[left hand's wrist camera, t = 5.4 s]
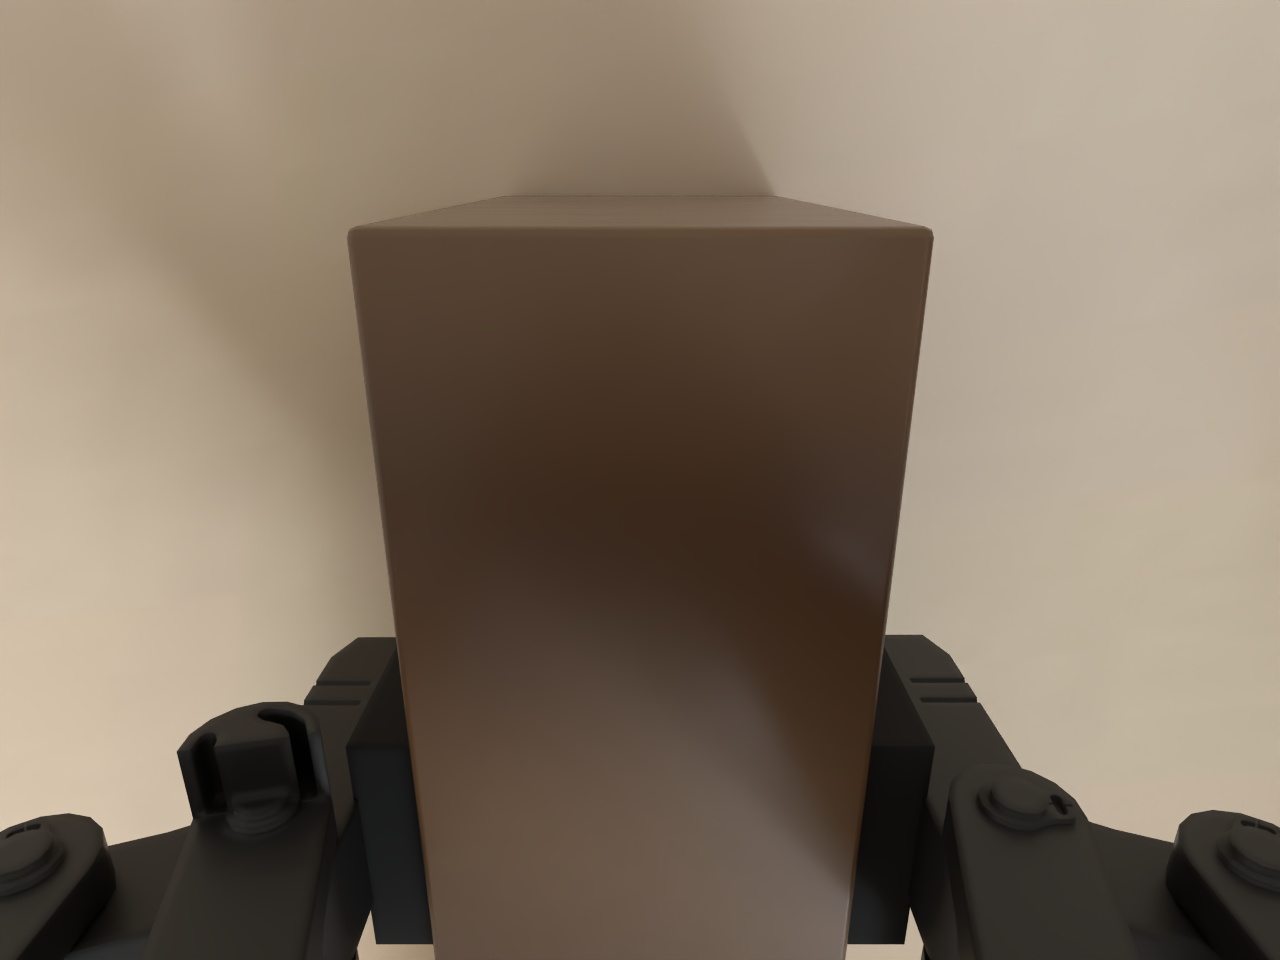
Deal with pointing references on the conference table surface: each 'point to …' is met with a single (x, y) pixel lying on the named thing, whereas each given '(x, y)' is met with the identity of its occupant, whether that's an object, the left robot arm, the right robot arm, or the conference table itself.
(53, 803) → the conference table surface
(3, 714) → the conference table surface
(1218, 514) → the conference table surface
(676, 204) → the beam
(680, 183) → the conference table surface
